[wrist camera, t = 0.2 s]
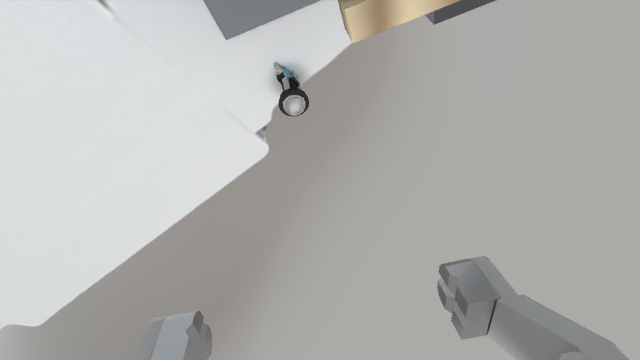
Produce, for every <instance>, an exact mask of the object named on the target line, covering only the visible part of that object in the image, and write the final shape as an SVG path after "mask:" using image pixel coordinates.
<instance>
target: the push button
mask: <svg viewBox="0 0 640 360" xmlns="http://www.w3.org/2000/svg"><path fill="white" fill-rule="evenodd" d="M274 66H275V67H274V68H275V70H276V71H277V73H278V75H277V80H278V81H279V82H280V83H281V84H282V88H283V92H282V94H281V95H280V99H279V108H280V110H281V111H282V112H283V113H284V114H286V115H288V116H298V115H301V114H303V113H304V112H305V111H306V110H307V108H308V106H309V99H308V97H307V95H306V94H305V92H304V91H302V90H301V88H300V84H299V82H298V81H297V80H296V79H297V76H296V74H295V73H294V72H293V75H292V74H291V73H290V72H289V71H288V69H287V68H286V67H283V68H282V67H280V66H279V65H278V63H276V64H274ZM303 97H304V99H303ZM282 102H284V103H282Z"/></svg>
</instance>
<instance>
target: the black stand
mask: <svg viewBox="0 0 640 360" xmlns="http://www.w3.org/2000/svg"><path fill="white" fill-rule="evenodd" d="M493 1H495V0H460V1H458V2H455V3H453V4H450V5H448V6H445V7H443V8H440V9H438V10H435V11H433V12H430V13H428V14H425V16H426V17H427V18H428V19H429V20H430V21H431V22H432V23H433V24H437V23H439V22H442V21H445V20H447V19H449V18H452V17H455V16H457V15H460V14H462V13H465V12H467V11H470V10H472V9H475V8H478V7H480V6H483V5H485V4H488V3H490V2H493Z"/></svg>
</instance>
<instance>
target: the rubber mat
mask: <svg viewBox="0 0 640 360" xmlns="http://www.w3.org/2000/svg"><path fill="white" fill-rule="evenodd" d="M318 1H320V0H204V2H205V4H206V6H207V7H208V9H209V11H210V13H211V14H212V16H213V18H214V20H215V21H216V23H217V25H218V27H219V28H220V30H221V32H222V34H223V35H224V37H225V39H226V40H228V39H230V38H232V37H235V36H237V35H240V34H242V33H244V32H247V31H249V30H251V29H254V28H256V27H258V26H261V25H263V24H266V23H268V22H270V21H273V20H275V19H277V18H280V17H282V16H284V15H287V14H289V13H292V12H294V11H296V10H299V9H301V8H303V7H306V6H308V5H310V4H313V3H315V2H318Z"/></svg>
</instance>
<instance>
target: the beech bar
mask: <svg viewBox="0 0 640 360" xmlns="http://www.w3.org/2000/svg"><path fill="white" fill-rule="evenodd" d="M458 1H460V0H338V3H339V7H340V11H341V14H342V18H343V22H344V26H345V30H346V31H347V33H348V35H349V37H350V39H351V41H352V43H355V42H357V41H360V40H362V39H365V38H367V37H370V36H373V35H375V34H377V33H380V32H382V31H385V30H388V29H390V28H393V27H395V26H398V25H400V24H403V23H405V22H407V21H410V20H412V19H415V18H418V17H420V16H423V15H425V14H428V13H430V12H433V11H435V10H438V9H440V8H443V7H445V6H448V5H450V4H453V3H455V2H458Z"/></svg>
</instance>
